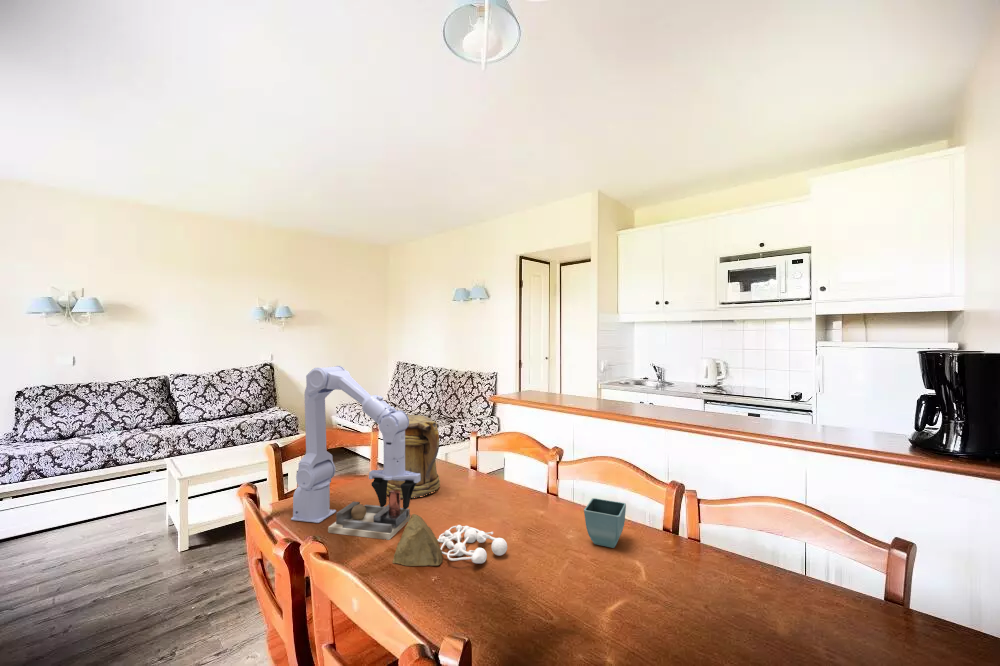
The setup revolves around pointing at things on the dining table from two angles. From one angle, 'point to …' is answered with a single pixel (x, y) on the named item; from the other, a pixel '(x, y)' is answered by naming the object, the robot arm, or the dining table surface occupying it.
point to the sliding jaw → (391, 511)
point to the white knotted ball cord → (470, 536)
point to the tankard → (420, 455)
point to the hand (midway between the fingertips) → (394, 506)
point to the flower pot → (605, 521)
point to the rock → (418, 545)
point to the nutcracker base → (364, 523)
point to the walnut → (358, 512)
